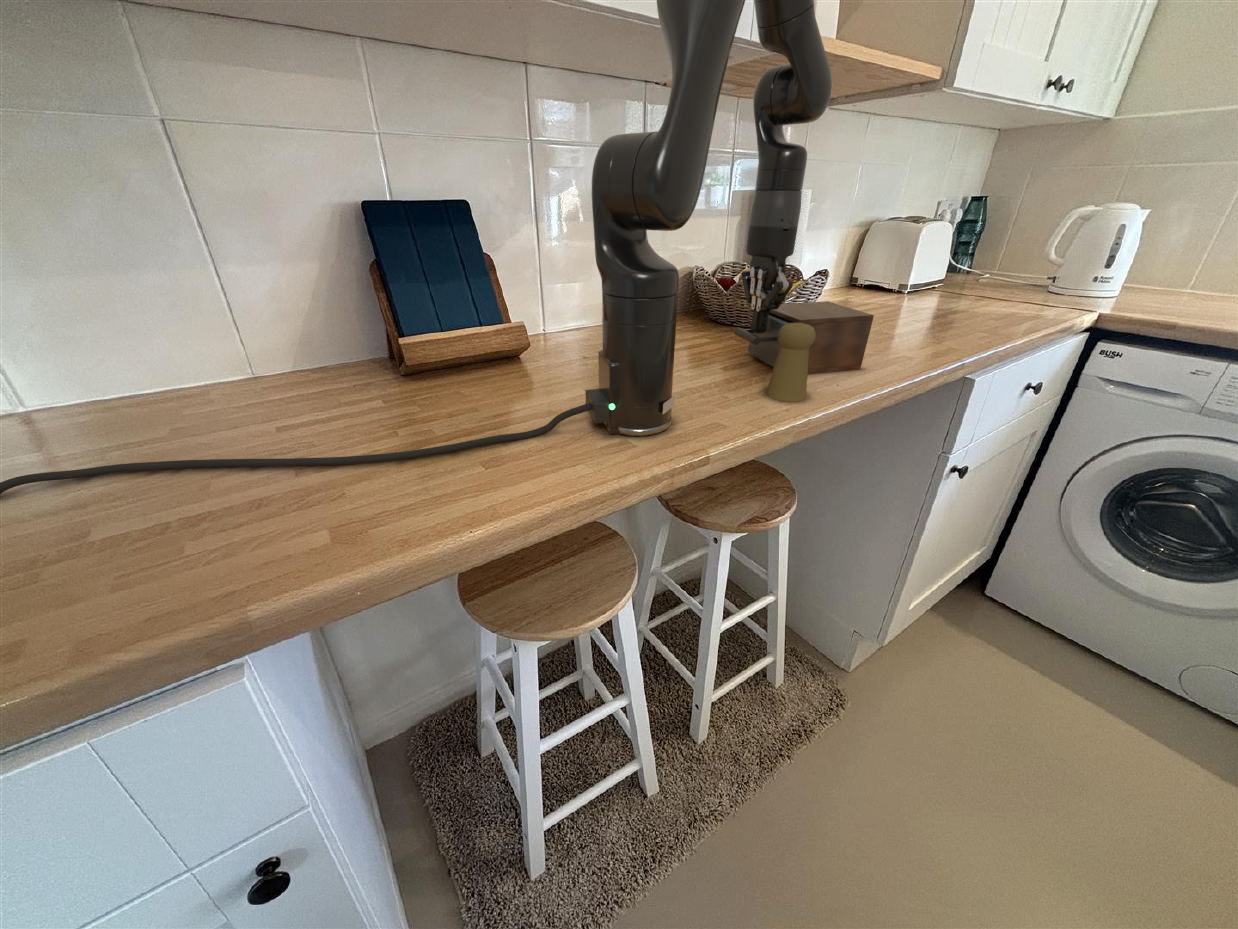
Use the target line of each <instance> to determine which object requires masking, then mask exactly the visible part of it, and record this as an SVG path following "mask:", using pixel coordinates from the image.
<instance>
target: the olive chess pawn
mask: <svg viewBox="0 0 1238 929" xmlns="http://www.w3.org/2000/svg"><path fill="white" fill-rule="evenodd" d="M778 339H779V343H780V345H781V346H780V349H779V352H778V356H777V359H776V362H775V365H774V367H773V368H772V372H771V375H770V379H769V381H768V386H767V389H766V392H765V394H766V395H767V396H768V397H769V398H771V399H773V400H776V401H781V402H787V403H797V402H802V401H804V400H806V398H807V388H808V387H807V386H808V374H807V372H808V355H809V347H810V346H811V345H812V344H813V342H814V340H815V330H814V328H813V327H812V326H810V325H808V324H804V323H788V324H785V325H783V326H782V327H781V329H780V331H779V335H778Z"/></svg>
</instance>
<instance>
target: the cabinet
mask: <svg viewBox="0 0 1238 929" xmlns="http://www.w3.org/2000/svg"><path fill="white" fill-rule="evenodd" d="M769 313H771V314H774V315H776V316H779V317H781V318H784V319H786V320H789V321H791V322H794V323H804V324H808V325H810V326H812V327H813V328H814V330H815V340H814V342H813V344H812V345H811V346H810V347H809V355H808V372H807V375H814V374H825V373H836V372H847V371H855V370H861V368H862V365H863V361H864V357H865V352H866V349H867V345H868V341H869V337H870V333H871V329H872V325H873V321H874V317H875V315H874V314H871V313H867V312H865V311H862V310H858V309H855V308H852V307H848V306H845V305H841V304H838V303H835V302H832V301H829V300H827V301H825V300H824V301H808V302H807V301H806V302H792V303H791V302H790V303H781V305H780V306H779V308H778V309H773V310H771V311H770V312H769Z"/></svg>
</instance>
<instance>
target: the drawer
mask: <svg viewBox="0 0 1238 929" xmlns="http://www.w3.org/2000/svg"><path fill="white" fill-rule="evenodd" d="M788 323H794V322H791V321H789V320H786V319H784V318H781V317H779V316H776V315H774V314H771V313H769V316H768V322H767V328H766V331H765V332H764V333H755V332H753V331H751V328H747V329H745V328H744V329H743V328H741V327H739V326H738V327H735V328H734V330H733V334H734V336H737V337H739V338H741V339H742V340H743V341H746V342H748V348H747V353H748V354H749V355H751V356H753V357H755V358H756V359H759V360H760V361H762V362H764V363H766V364H767V365H769V366H771V367H773V368H774V365H775V362H776V359H777V356H778V352H779V349H780V346H781V345H780V343H779V339H778V335H779V331H780V329H781V327H782V326H783V325H785V324H788Z"/></svg>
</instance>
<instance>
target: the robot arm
mask: <svg viewBox="0 0 1238 929" xmlns="http://www.w3.org/2000/svg"><path fill="white" fill-rule="evenodd" d="M745 2H746V0H656V9H657V10H656V11H657V15H658V20H659V24H660V28H661V32H662V36H663V40H664V43H665V47H666V49H667V53H668V57H669V60H670V61H669V62H670V65H671V74H672V79H671V87H670V93H669V99H668V103H667V107H666V111H665V115H664V119H663V121H662V124H661V126H660V128H659V129H658V131H645V132H644V131H643V132H631V133H621V134H615V135H612V136H610V137H608V138H607V139H605V140H604V141H603V142H602V143H601V145H600V147H599V148H598V150H597V152H596V155H595V158H594V161H593V165H592V166H593V167H592V174H591V209H592V223H593V239H594V241H593V242H594V255H595V264H596V267H597V270H598V273H599V276H600V279H601V309H602V312H601V318H602V319H601V321H602V322H601V325H602V327H601V328H602V330H601V332H602V349H600V350H599V351H598V356H597V358H598V388H594V389H593V388H592V389H585V403H584V404H582V405H579V406H576V407H572V408H569V409H567V410H564V411H563V412H561V413H559V414H557V415H555V416H554V417H553V418H552V419H551V420H550V421H549V422H548V423H546V424H544V425H543V426H541V427H538V428H534V429H531V430H528V431H522V432H521V431H520V432H515V433H505V434H498V435H492V436H491V435H490V436H487V437H481V438H476V439H471V440H466V441H460V442H457V443H449V444H445V445H439V446H432V447H426V448H425V447H424V448H419V449H411V450H405V451H395V452H386V453H376V454H375V453H374V454H364V455H363V454H362V455H353V456H352V455H351V456H349V455H348V456H328V457H326V456H325V457H295V458H293V457H291V458H224V459H223V458H219V459H218V458H217V459H216V458H215V459H213V458H211V459H210V458H209V459H182V460H179V459H178V460H163V461H162V460H161V461H147V462H128V463H118V464H108V465H102V466H101V465H100V466H94V467H87V468H81V469H71V470H60V471H58V470H57V471H48V472H47V471H46V472H38V473H30V474H24V475H20V476H16V477H15V476H14V477H12V478H9V479H6V480H3V481H0V495H1V494H3V493H4V492H7V491H8V490H11V489H13V488H16V487H19V486H22V485H28V484H33V483H41V482H51V481H62V480H72V479H80V478H88V477H95V476H102V475H109V474H115V473H116V474H117V473H127V472H128V473H129V472H140V471H141V472H143V471H160V470H175V469H176V470H179V469H204V468H205V469H206V468H207V469H208V468H209V469H210V468H261V467H262V468H265V467H266V468H269V467H272V468H273V467H274V468H275V467H276V468H279V467H281V468H282V467H283V468H285V467H316V466H317V467H318V466H341V465H343V466H344V465H357V464H371V463H372V464H373V463H381V462H382V463H383V462H391V461H401V460H408V459H409V460H410V459H416V458H424V457H430V456H435V455H442V454H447V453H454V452H458V451H463V450H468V449H472V448H477V447H482V446H486V445H493V444H497V443H505V442H513V441H521V440H526V439H532V438H536V437H539V436H541V435H544V434H546V433H549V432H550V431H552V430H553V429H555V427H556V426H558V424H560V423H561V422H563V421H564V420H566V419H568V418H571V417H573V416H576V415H580V414H582V413H586V412H588V414H589V416H590V417H591V419H592V421H593V422H594V424H602V425H603V426H604V427H605V429H606V430H607V432H608V433H609V435H618V434H619V435H624V436H631V437H634V436H635V437H636V436H637V437H641V436H643V437H644V436H645V437H646V436H651V435H657V434H660V433H662V432H664V431H666V430H668V429H669V428H670V426H671V424H672V408H673V407H674V406H675V402H676V394H673V383H674V370H675V368H674V366H675V352H676V351H675V349H676V335H677V333H676V332H677V317H678V303H679V286H680V272H679V269H678V268H677V267H676V265H674V264H673V263H671V262H670V261H668V260H666V259H665V258H663V257H662V256H660V255H659V254H658V253H657V252H656V251H655V250H654V249H653V247H652V245H651V244H650V242H649V239H648V231H659V232H672V231H677V230H679V229H682V228H683V227H684V226H685V225H686V224H687V223H688V222H689V220H690V219H691V217H692V215H693V213H694V212H695V209H696V206H697V204H698V201H699V199H700V198H699V197H700V194H701V191H702V186H703V183H704V178H705V173H706V169H707V168H706V167H707V163H708V158H709V152H710V147H711V141H712V137H713V132H714V126H715V122H716V116H717V110H718V106H719V101H720V96H721V91H722V87H723V82H724V78H725V76H726V75H725V74H726V70H727V67H728V64H729V59H730V55H731V51H732V48H733V44H734V40H735V37H736V33H737V29H738V25H739V23H740V19H741V16H742V13H743V9H744V6H745ZM753 3H754V12H755V17H756V18H755V20H756V24H757V25H756V29H757V36H758V41H759V45H760V47H761V48H762V49H763V50H764V51H766V52H768V53H773V54H779V55H782V56H784V57H785V58H786V59H787V61H788V63H789V64H783V65H778V66H777V65H776V66H773V67H769V68H768V69H767V70H765V71H764V72H763V74H762V75H761V76H760V78H759V79H758V82H757V83H756V86H755V89H754V94H753V102H752V103H753V105H752V107H753V119H754V128H755V135H756V144H757V145H756V146H757V158H758V160H757V161H758V163H757V171H756V179H755V188H754V194H753V199H752V202H751V208H750V214H749V224H748V232H747V240H746V247H745V248H746V249H745V253H746V254H747V255H749V256H752V257H751V260H750V263H749V268H748V269H747V270H743V271H742V272H741V281H742V284H743V285H742V286H743V290H744V296H745V299H746V304H747V305H748V304H750V305H751V306H750V307H751V310H752V315H751V323H750V329H751V331H753V332H755V333H764V332H765V331H766V328H767V322H768V316H769V312H770V311H771V310H773V309H778V308H779V306H780V305H781V304H783V302H784V300H785V299H786V297H787V296H788V294H789V293H790V292H791V290H792V288H793V286H794V283H793V281H792V280H787V278H786V275H785V274H786V272H787V265H786V261H787V258H788V257H791V256H792V255H793V254H794V252H795V248H796V247H795V246H796V240H797V234H798V229H799V222H800V216H801V211H802V210H801V209H802V194H803V193H802V192H803V191H802V190H803V187H804V182H805V174H806V168H807V162H808V151H807V149H806V148H805V146H804V145H801V144H797V143H793V142H789V141H787V140H786V137H785V134H784V126H789V125H800V124H810V123H814V122H816V121H817V120H819V119H820V118H821V117H822V116H823V115H824V113H825V112H826V110H827V109H828V107H829V104H830V102H831V98H832V94H833V75H832V69H831V64H830V62H829V58H828V55H827V52H826V49H825V46H824V43H823V40H822V36H821V35H822V34H821V32H820V28H819V25H818V22H817V18H816V11H815V10H816V9H815V0H753Z"/></svg>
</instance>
